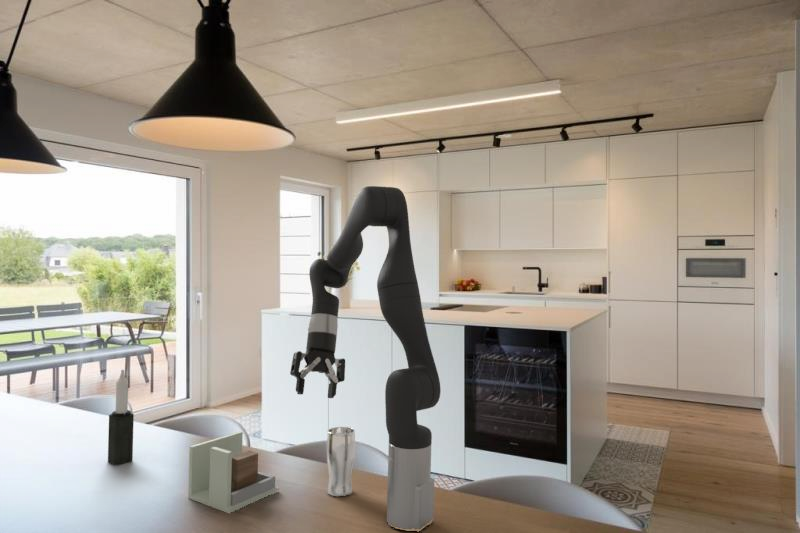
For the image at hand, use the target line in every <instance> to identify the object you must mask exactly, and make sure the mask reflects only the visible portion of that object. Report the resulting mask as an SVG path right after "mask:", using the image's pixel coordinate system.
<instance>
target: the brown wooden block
mask: <svg viewBox="0 0 800 533" xmlns="http://www.w3.org/2000/svg"><path fill="white" fill-rule="evenodd" d="M258 471H259V452H255V451H251V450H247V451H245V452H242V453H241V454H238V455H235V456H232V472H231V493H232V492H235V491H237V490H240V489H242V488H245V487H247V486H250V485H252V484H255V483H257V479H258Z"/></svg>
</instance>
